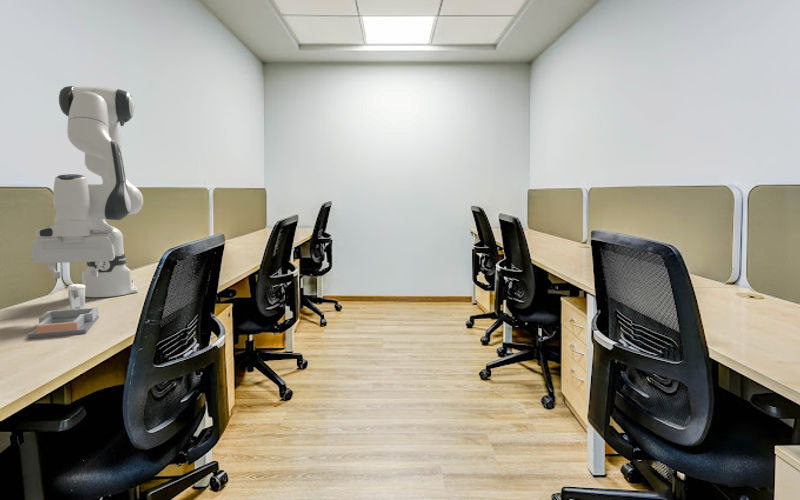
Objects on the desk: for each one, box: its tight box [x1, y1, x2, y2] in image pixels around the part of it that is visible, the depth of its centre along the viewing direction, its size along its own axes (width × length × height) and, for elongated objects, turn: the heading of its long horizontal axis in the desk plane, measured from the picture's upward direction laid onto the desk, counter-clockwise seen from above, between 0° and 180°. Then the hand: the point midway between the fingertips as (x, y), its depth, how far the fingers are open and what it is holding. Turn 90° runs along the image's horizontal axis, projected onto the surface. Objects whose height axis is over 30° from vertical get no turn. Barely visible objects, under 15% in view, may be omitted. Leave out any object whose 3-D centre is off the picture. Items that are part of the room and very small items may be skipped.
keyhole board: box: [27, 306, 100, 339], centre depth 130 cm, size 18×12×3 cm, turn 23°
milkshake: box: [66, 280, 86, 309], centre depth 144 cm, size 5×5×10 cm
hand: (76, 277), depth 143 cm, fingers open, 8 cm apart
